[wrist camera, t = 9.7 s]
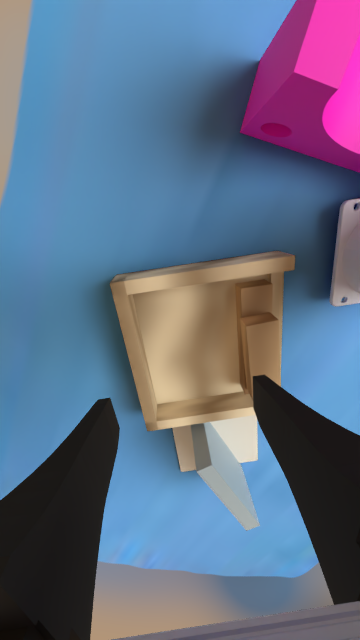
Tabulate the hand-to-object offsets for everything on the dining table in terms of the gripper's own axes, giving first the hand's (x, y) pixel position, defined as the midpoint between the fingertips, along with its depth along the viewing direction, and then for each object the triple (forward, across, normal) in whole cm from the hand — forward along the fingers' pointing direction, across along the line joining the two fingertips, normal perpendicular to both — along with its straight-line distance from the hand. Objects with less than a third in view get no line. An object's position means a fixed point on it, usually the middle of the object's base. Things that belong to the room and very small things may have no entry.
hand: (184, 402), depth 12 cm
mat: (+10, -2, +14) cm, 18 cm away
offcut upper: (+8, -6, +3) cm, 10 cm away
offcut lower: (+9, -6, +2) cm, 12 cm away
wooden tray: (+10, -2, +2) cm, 10 cm away
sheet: (+10, -2, +15) cm, 18 cm away
